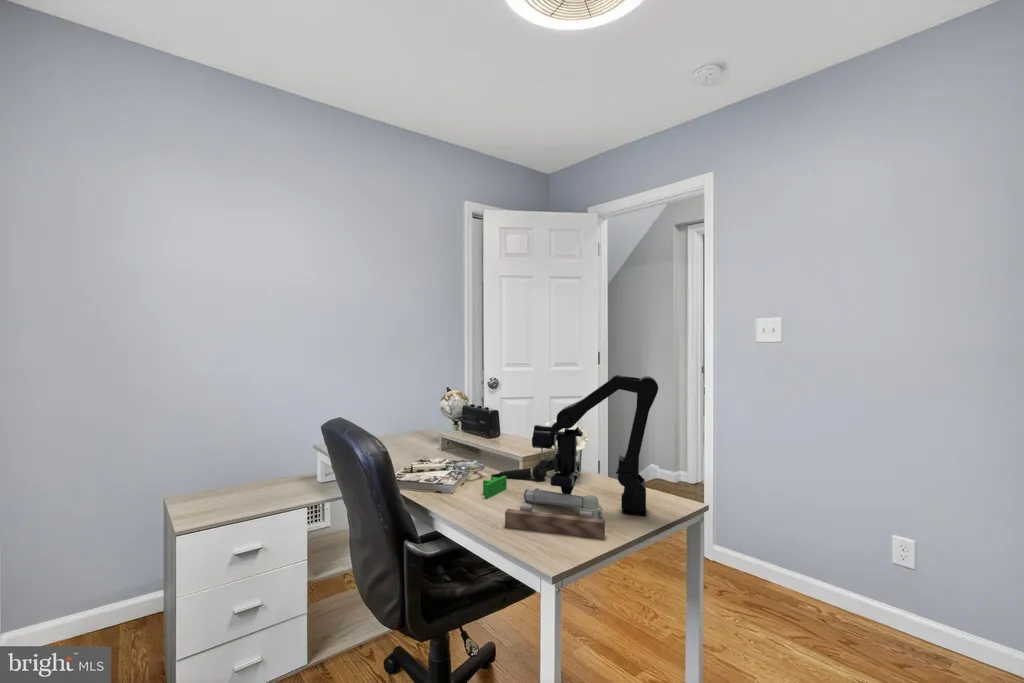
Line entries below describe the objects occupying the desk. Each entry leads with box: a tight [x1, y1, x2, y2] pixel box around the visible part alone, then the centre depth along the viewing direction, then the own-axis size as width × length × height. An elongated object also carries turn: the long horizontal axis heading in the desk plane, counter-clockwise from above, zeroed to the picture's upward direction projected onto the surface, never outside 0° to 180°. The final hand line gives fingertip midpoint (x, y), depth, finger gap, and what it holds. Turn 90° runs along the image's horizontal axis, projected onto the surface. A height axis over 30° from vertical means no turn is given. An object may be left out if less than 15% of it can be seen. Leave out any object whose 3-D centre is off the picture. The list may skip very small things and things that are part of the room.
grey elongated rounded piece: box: [523, 487, 603, 519], centre depth 142 cm, size 5×7×25 cm
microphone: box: [490, 463, 548, 482], centre depth 172 cm, size 6×6×20 cm
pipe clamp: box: [482, 476, 508, 500], centre depth 156 cm, size 11×4×5 cm, turn 149°
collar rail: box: [504, 504, 606, 540], centre depth 127 cm, size 26×4×5 cm, turn 75°
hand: (566, 501), depth 146 cm, fingers closed
